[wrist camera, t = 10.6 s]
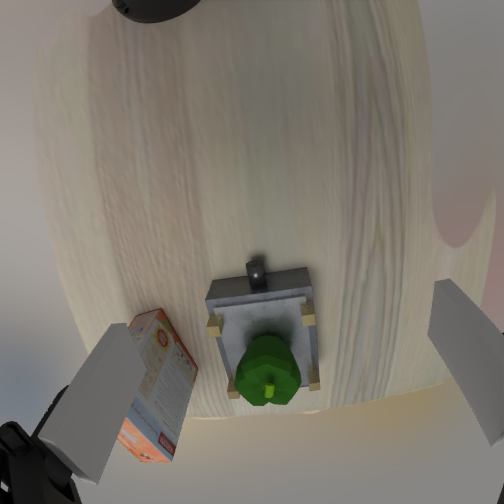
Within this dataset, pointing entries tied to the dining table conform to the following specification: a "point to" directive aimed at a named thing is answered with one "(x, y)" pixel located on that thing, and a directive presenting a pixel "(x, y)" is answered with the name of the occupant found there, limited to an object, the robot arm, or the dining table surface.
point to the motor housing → (264, 318)
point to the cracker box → (158, 390)
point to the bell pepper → (267, 372)
